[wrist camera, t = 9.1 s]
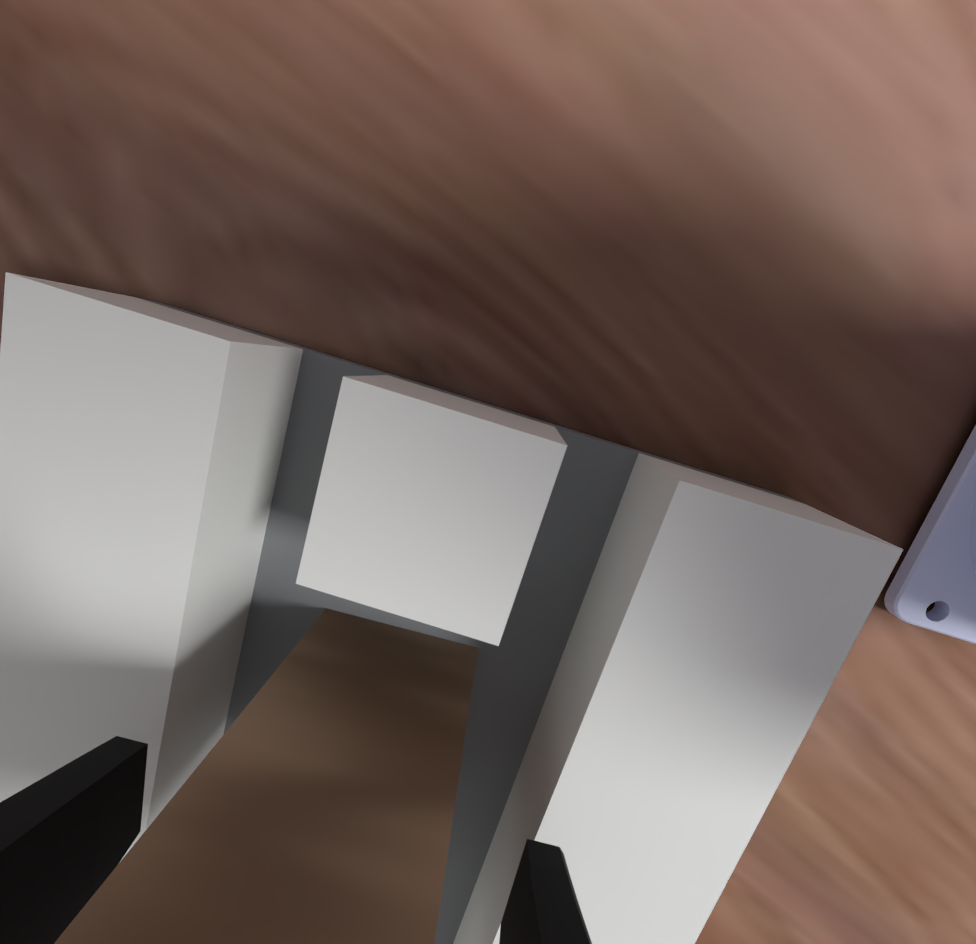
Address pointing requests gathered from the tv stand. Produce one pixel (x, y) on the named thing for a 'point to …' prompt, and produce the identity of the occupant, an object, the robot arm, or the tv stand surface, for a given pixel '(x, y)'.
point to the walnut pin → (309, 805)
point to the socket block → (408, 593)
